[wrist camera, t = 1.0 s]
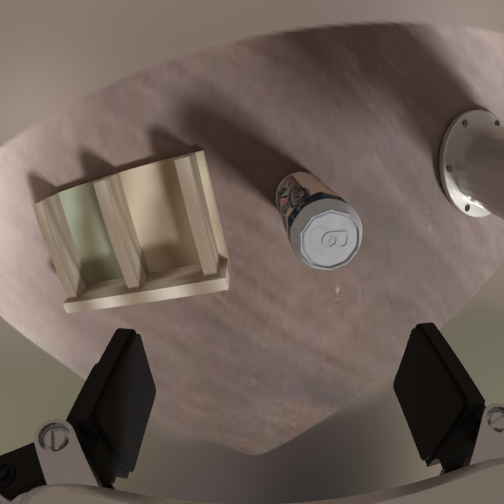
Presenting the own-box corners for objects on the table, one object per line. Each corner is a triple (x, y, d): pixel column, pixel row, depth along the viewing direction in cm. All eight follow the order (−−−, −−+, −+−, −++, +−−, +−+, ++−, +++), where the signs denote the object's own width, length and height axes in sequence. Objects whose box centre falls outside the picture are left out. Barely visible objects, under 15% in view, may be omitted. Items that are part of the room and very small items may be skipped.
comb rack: (203, 149, 28) (195, 155, 24) (230, 266, 33) (228, 289, 28) (49, 195, 29) (25, 207, 25) (84, 291, 34) (67, 313, 29)
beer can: (273, 172, 29) (290, 205, 18) (323, 169, 29) (368, 200, 18) (276, 221, 31) (293, 279, 20) (324, 217, 31) (365, 272, 20)
